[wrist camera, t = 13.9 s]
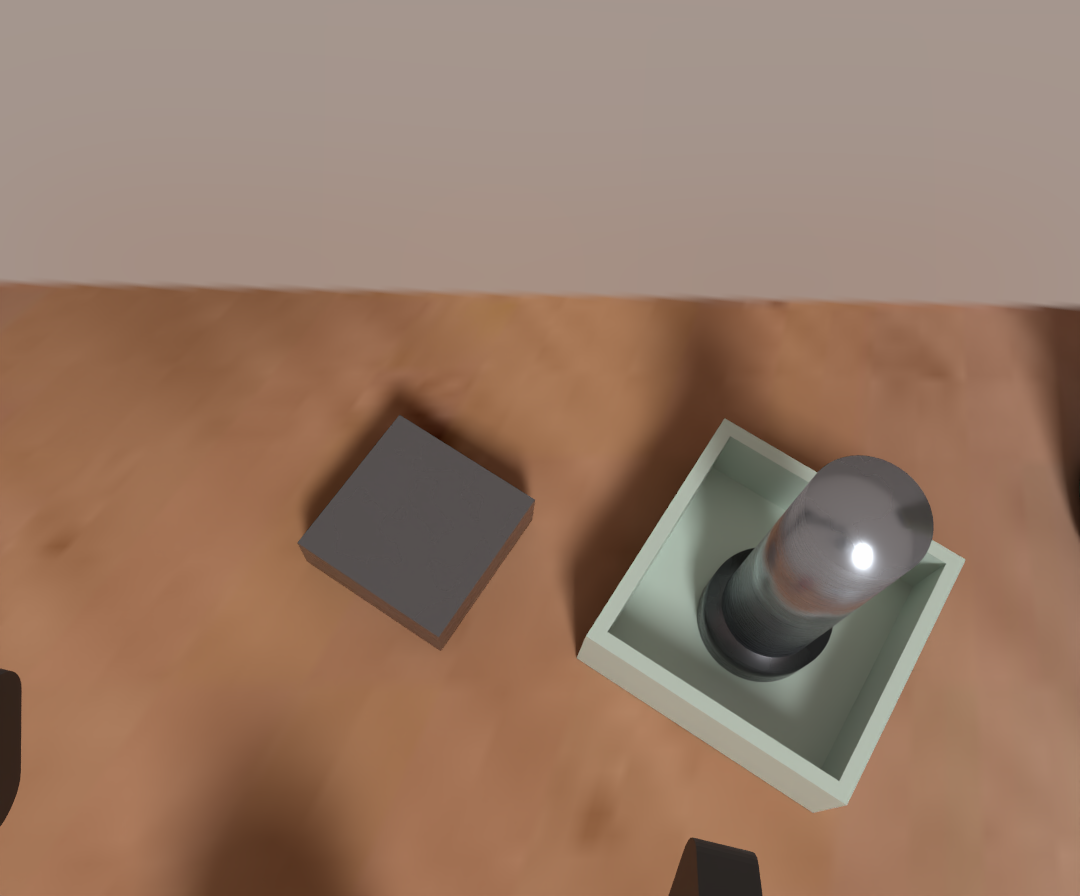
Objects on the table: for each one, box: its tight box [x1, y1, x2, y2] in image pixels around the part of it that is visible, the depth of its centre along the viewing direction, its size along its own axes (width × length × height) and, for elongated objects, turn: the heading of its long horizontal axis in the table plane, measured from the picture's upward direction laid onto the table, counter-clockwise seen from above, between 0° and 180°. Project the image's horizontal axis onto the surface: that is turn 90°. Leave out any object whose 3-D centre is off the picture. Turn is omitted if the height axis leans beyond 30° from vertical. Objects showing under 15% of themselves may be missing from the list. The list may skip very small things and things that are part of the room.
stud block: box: [298, 415, 535, 651], centre depth 42 cm, size 7×7×2 cm
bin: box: [577, 418, 965, 813], centre depth 41 cm, size 11×11×4 cm
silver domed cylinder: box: [697, 455, 933, 682], centre depth 36 cm, size 5×5×13 cm
